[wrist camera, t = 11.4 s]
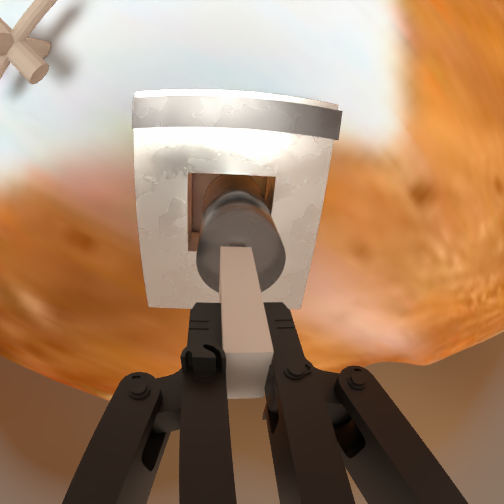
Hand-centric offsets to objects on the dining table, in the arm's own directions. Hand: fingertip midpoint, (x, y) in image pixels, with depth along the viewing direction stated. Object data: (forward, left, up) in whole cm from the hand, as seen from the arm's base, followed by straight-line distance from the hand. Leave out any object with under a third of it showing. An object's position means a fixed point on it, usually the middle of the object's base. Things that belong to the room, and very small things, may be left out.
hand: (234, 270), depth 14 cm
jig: (0, 0, -11) cm, 11 cm away
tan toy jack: (-18, +15, -11) cm, 26 cm away
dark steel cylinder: (0, 0, -11) cm, 11 cm away
